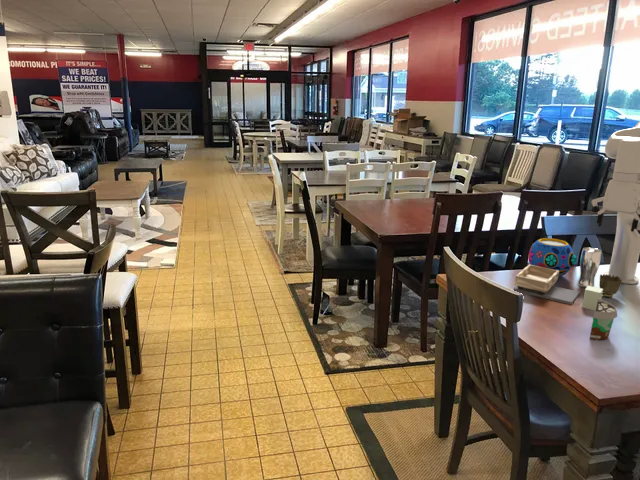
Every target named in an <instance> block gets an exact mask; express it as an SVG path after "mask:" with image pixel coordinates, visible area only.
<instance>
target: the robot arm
mask: <svg viewBox="0 0 640 480" xmlns="http://www.w3.org/2000/svg"><path fill="white" fill-rule="evenodd" d="M604 153H605V155H606V157H608V158H610V159H614V160H615V164H614V168H613V173H612V174H613V175H612V179H610V180H609V182H608V184H607V187H606V189H605V193H604V196H602V197H597V198H594V199H592V200H591V205H592V206H593V209H594V211H595V212H596V213H597V220H596V224H598V225H597V226H598V227H602V226H603V221H604V217H605V214H604V213H605V212H606V211H609V212H610V211H611V212H617V215H616V231H615V238H614V243H613V249H612V255H611V259H610V264H609V269H608V271H605V272H604V276H605V275H606V274H607V275H609V274H610V275H611V277H612V276H613V275H614V277H615V276H618V277H620V280H621V279H622V282H621V284H624V285H635V284H637V283H639V278H638V277H637V276H636V272H637V267H638V263H639V258H640V233H639V232H638V231H640V121H638V122H637V123H636V124H635V126H634V127H630V128H626V129H621V130H618V131H614V132H613V133H612V134H611V135H610V137H609V138H608V139H607V141H606V144H605V149H604ZM600 202H602V208H600V206H599V205H598V203H600Z"/></svg>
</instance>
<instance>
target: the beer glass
mask: <svg viewBox="0 0 640 480" xmlns="http://www.w3.org/2000/svg"><path fill="white" fill-rule="evenodd" d="M601 258H602V250H601V249H598V248H595V247H583V248H582V251H581V255H580V259H579V260H580V261H579V262H580V263H579V271H580V272H579V273H580V274H579V279H578V281H577V285H578V286H580V287H582V288H585V289H586V288H587V286H592V287H595V278H596V274H597V273H598V270H599V267H600V264H601Z"/></svg>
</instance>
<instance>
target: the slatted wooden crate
mask: <svg viewBox="0 0 640 480" xmlns="http://www.w3.org/2000/svg"><path fill="white" fill-rule="evenodd" d="M558 276H559V271H558V270H554V269H549V268H544V267H539V266H534V265H530V264H529V263H528V265H527V266H525V267H524V268H523V269H521V271H519V273H517V274H516V275H515V278H514V284H513V285H514V286H515V287H516V286H518V289H519V290H522V289H523V288H524V287H525V288H529V289H533V290H537V291H539V293H540V294H541V295H544V294H545V292H547V291H548V290H549V289H550V288H551V287H552V286H554V285H555V283H557V281H559V277H558Z"/></svg>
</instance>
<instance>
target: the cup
mask: <svg viewBox="0 0 640 480" xmlns="http://www.w3.org/2000/svg"><path fill="white" fill-rule="evenodd" d="M621 282H622V279H621V280H620V277H618V276H615V277H614V275H613V276H612V277H611V275H610V274H609V275H607V274H606V275H605V276H604V274H600V275H599V284H598V285H599V288H601V289H603V293H602V297H604V298H606V299H612V298H613V297H614V295H615V294H617V293H618V291H619V290H620V288H621V285H622V283H621Z"/></svg>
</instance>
